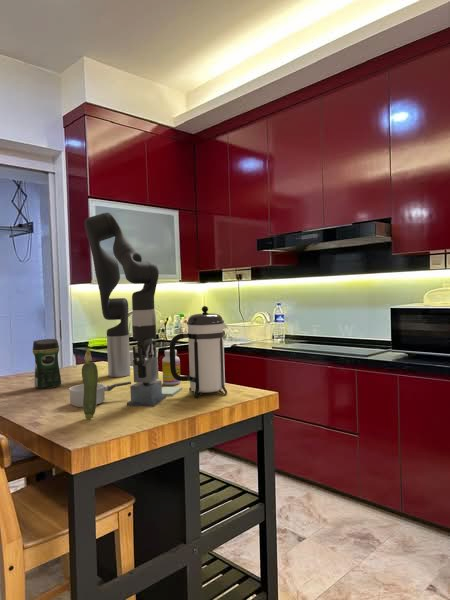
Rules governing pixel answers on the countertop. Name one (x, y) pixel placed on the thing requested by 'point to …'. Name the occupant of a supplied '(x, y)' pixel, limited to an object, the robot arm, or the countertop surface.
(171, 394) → the pad
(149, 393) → the grey peg stand
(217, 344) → the coffee press
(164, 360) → the supplement bottle
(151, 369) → the collar
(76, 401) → the saucepan
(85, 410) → the vegetable
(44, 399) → the countertop surface
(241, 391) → the countertop surface
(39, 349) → the coffee jar
